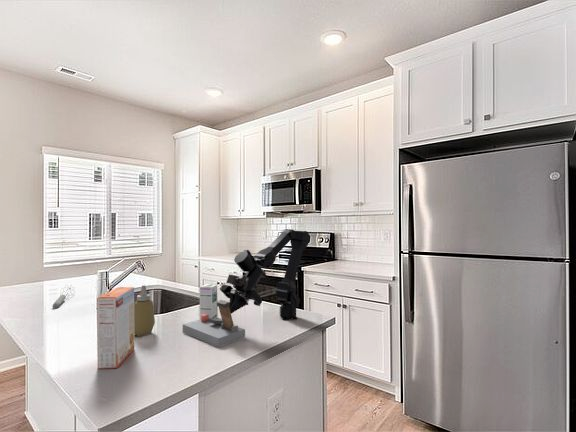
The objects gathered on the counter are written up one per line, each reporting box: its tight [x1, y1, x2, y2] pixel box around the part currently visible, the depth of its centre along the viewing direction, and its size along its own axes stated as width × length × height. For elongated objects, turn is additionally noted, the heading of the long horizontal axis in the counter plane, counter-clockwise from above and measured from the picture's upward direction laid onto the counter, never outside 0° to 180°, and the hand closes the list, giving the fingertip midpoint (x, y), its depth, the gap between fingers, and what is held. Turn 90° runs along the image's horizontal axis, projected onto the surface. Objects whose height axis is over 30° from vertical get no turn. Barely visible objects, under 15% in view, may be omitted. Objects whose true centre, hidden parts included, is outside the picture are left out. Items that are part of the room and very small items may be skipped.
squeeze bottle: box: [134, 284, 156, 337], centre depth 125 cm, size 8×8×18 cm
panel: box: [182, 317, 246, 348], centre depth 124 cm, size 12×22×5 cm, turn 49°
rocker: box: [208, 318, 223, 324], centre depth 127 cm, size 5×4×1 cm
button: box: [201, 314, 209, 322], centre depth 131 cm, size 3×3×2 cm
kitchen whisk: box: [52, 284, 76, 309], centre depth 172 cm, size 6×34×6 cm, turn 23°
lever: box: [217, 299, 235, 330], centre depth 120 cm, size 2×4×11 cm, turn 49°
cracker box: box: [96, 286, 135, 370], centre depth 103 cm, size 14×6×21 cm, turn 5°
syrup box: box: [199, 283, 219, 320], centre depth 144 cm, size 6×6×14 cm
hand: (227, 314), depth 121 cm, fingers closed, pressing on lever
